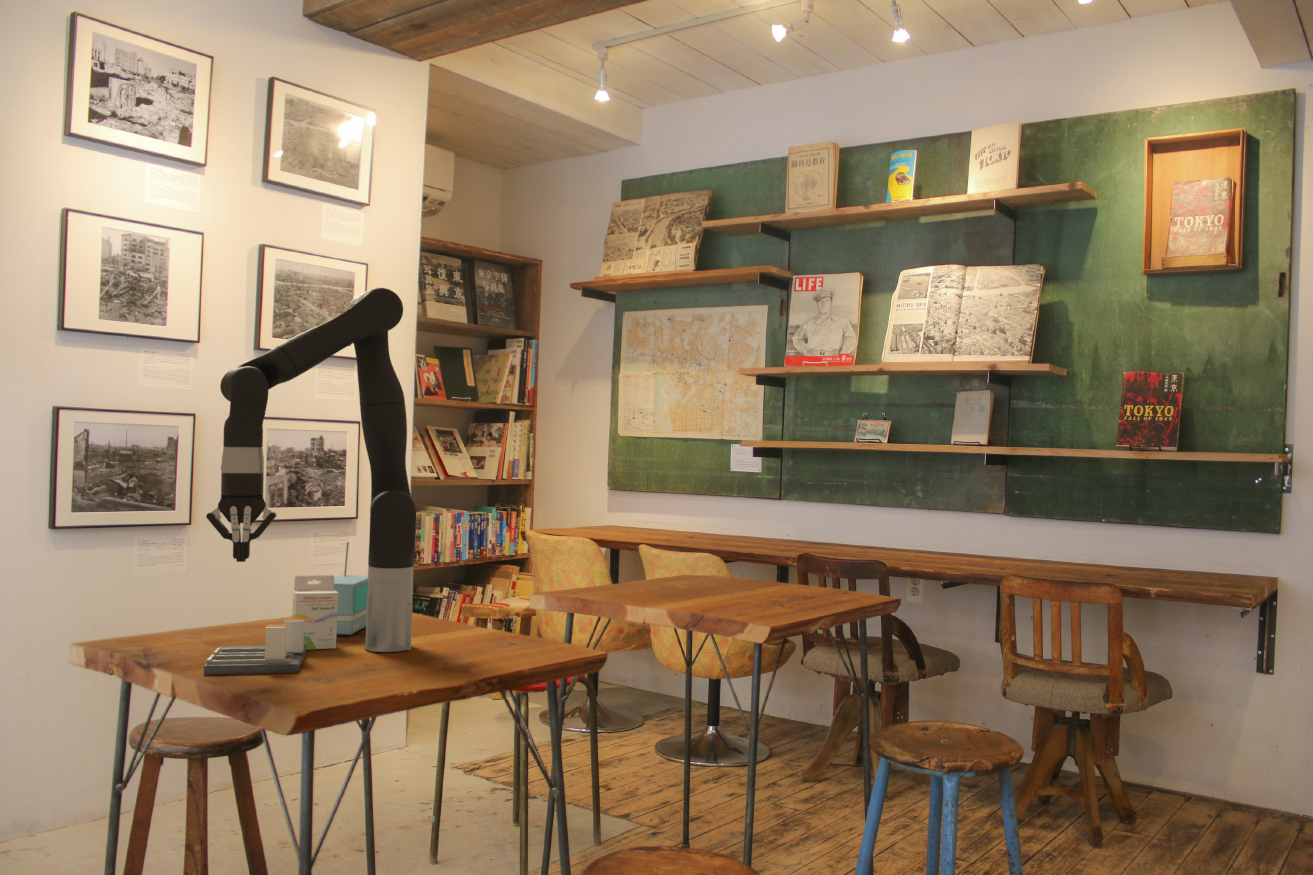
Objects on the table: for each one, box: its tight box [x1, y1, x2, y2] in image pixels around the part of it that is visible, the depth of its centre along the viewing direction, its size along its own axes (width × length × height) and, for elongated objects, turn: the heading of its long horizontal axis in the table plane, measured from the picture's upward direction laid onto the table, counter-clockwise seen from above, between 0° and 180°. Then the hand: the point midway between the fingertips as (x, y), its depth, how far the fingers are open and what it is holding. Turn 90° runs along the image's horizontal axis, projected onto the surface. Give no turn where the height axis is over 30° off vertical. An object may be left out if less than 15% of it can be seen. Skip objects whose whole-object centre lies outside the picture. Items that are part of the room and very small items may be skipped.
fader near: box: [264, 624, 287, 659], centre depth 188 cm, size 4×3×6 cm
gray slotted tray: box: [203, 645, 307, 676], centre depth 192 cm, size 16×19×2 cm
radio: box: [318, 541, 368, 638], centre depth 230 cm, size 16×9×20 cm, turn 179°
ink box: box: [291, 574, 338, 651], centre depth 210 cm, size 9×5×15 cm, turn 117°
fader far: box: [283, 618, 305, 653], centre depth 195 cm, size 4×3×6 cm
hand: (241, 561), depth 193 cm, fingers closed
